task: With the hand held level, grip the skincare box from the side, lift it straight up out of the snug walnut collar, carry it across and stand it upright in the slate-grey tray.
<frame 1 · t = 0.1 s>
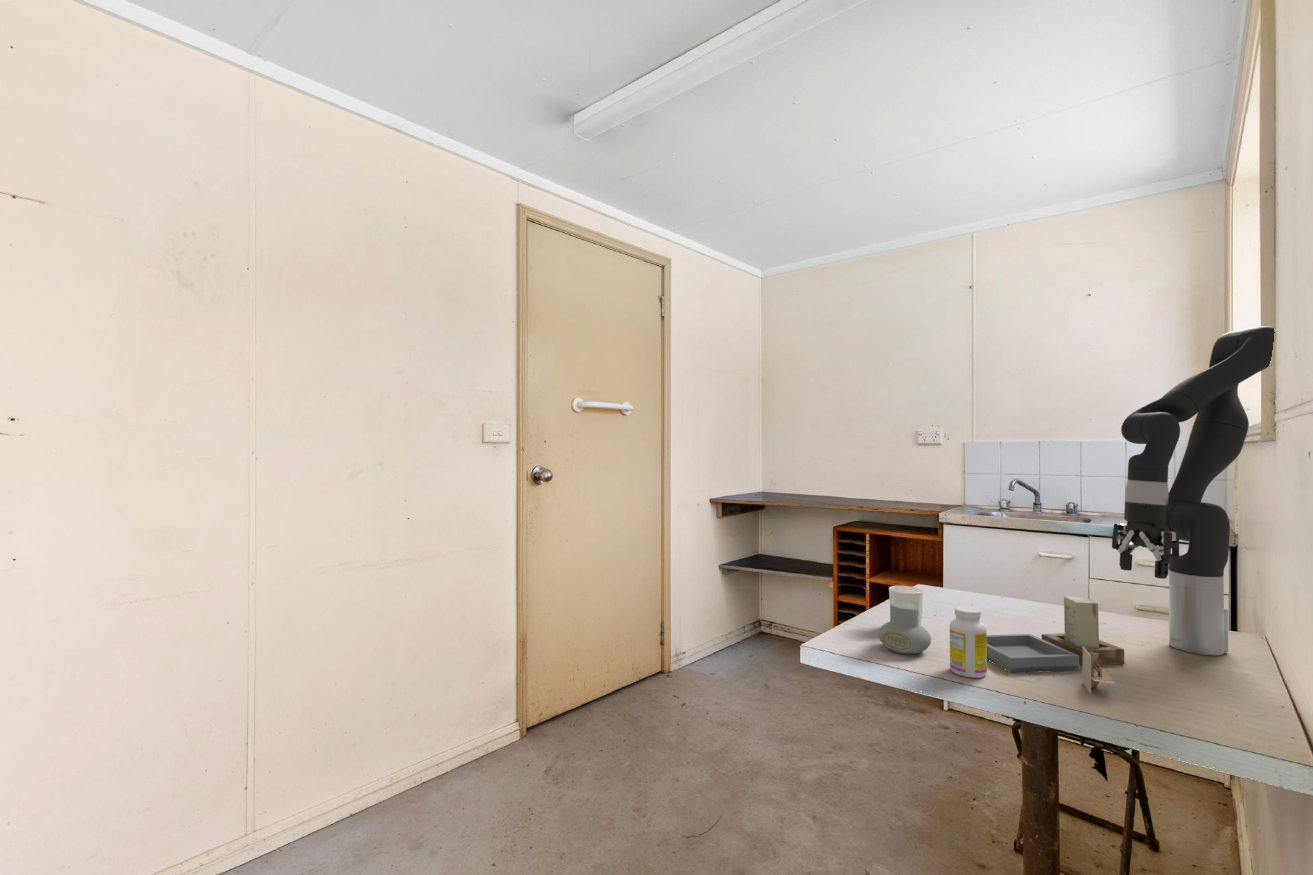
hand: (1142, 574, 134), 17 cm above the table, tool pointing down, fingers open, 8 cm apart
architectural model: (1092, 692, 113), on the table
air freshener: (904, 651, 134), on the table
slate tray: (1020, 659, 128), on the table
walnut collar: (1081, 655, 131), on the table
supplement bottle: (968, 673, 121), on the table
white cup: (905, 630, 149), on the table
skincare box: (1081, 656, 131), resting in walnut collar
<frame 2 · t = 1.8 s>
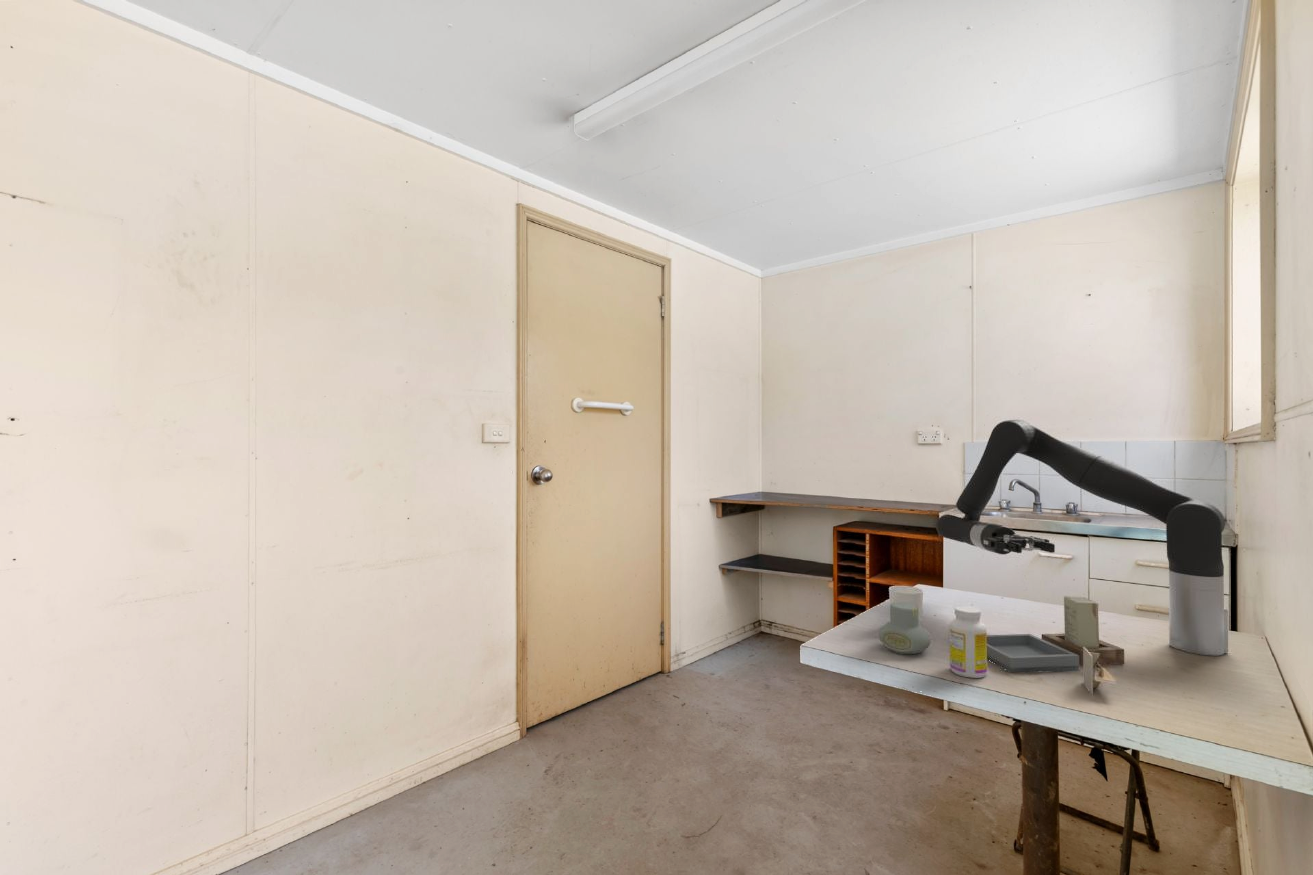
hand: (1037, 548, 144), 21 cm above the table, tool horizontal, fingers open, 8 cm apart
nothing on the table moved.
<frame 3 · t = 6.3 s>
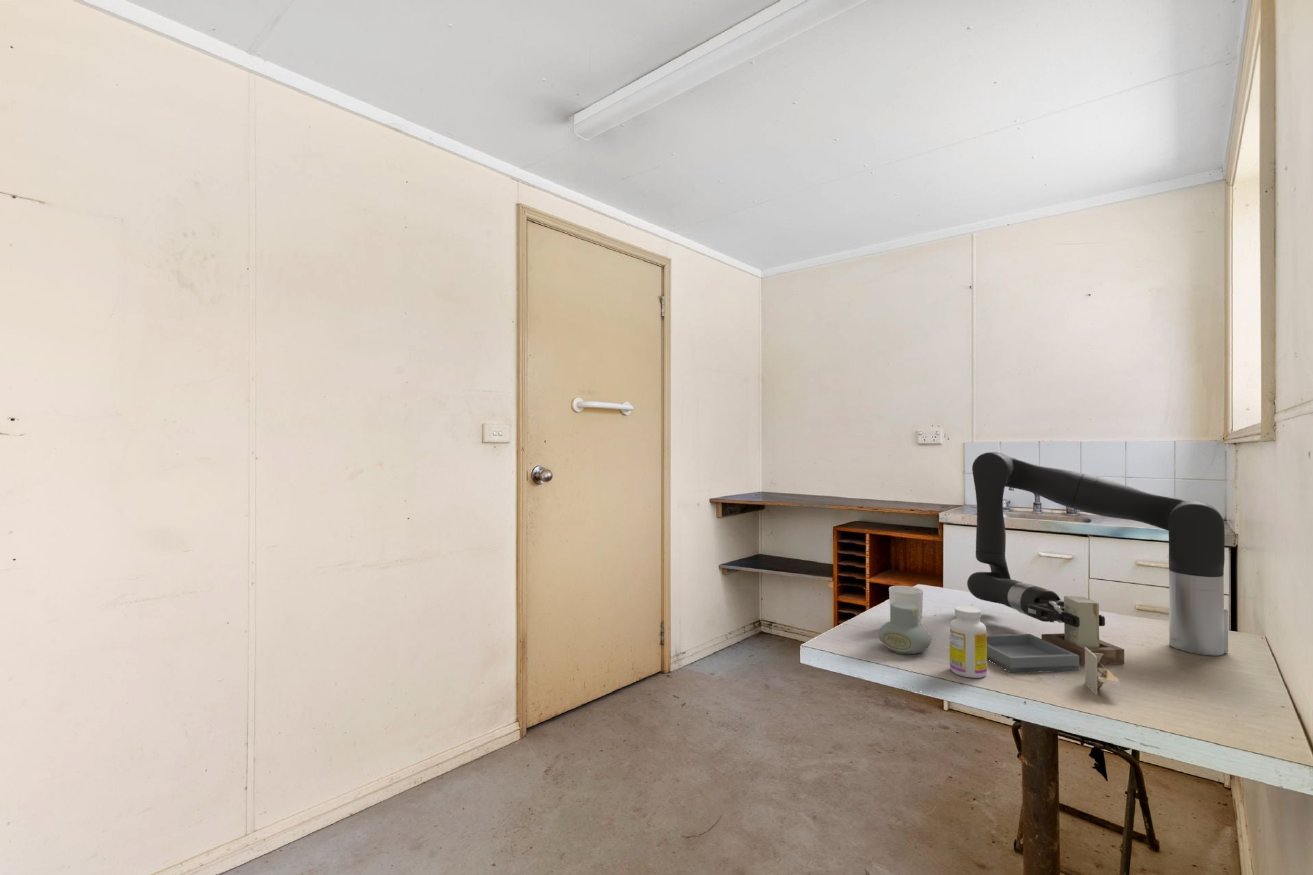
hand: (1090, 621, 128), 8 cm above the table, tool horizontal, fingers closed on skincare box, 5 cm apart
skincare box: (1081, 656, 131), resting in walnut collar, touching gripper
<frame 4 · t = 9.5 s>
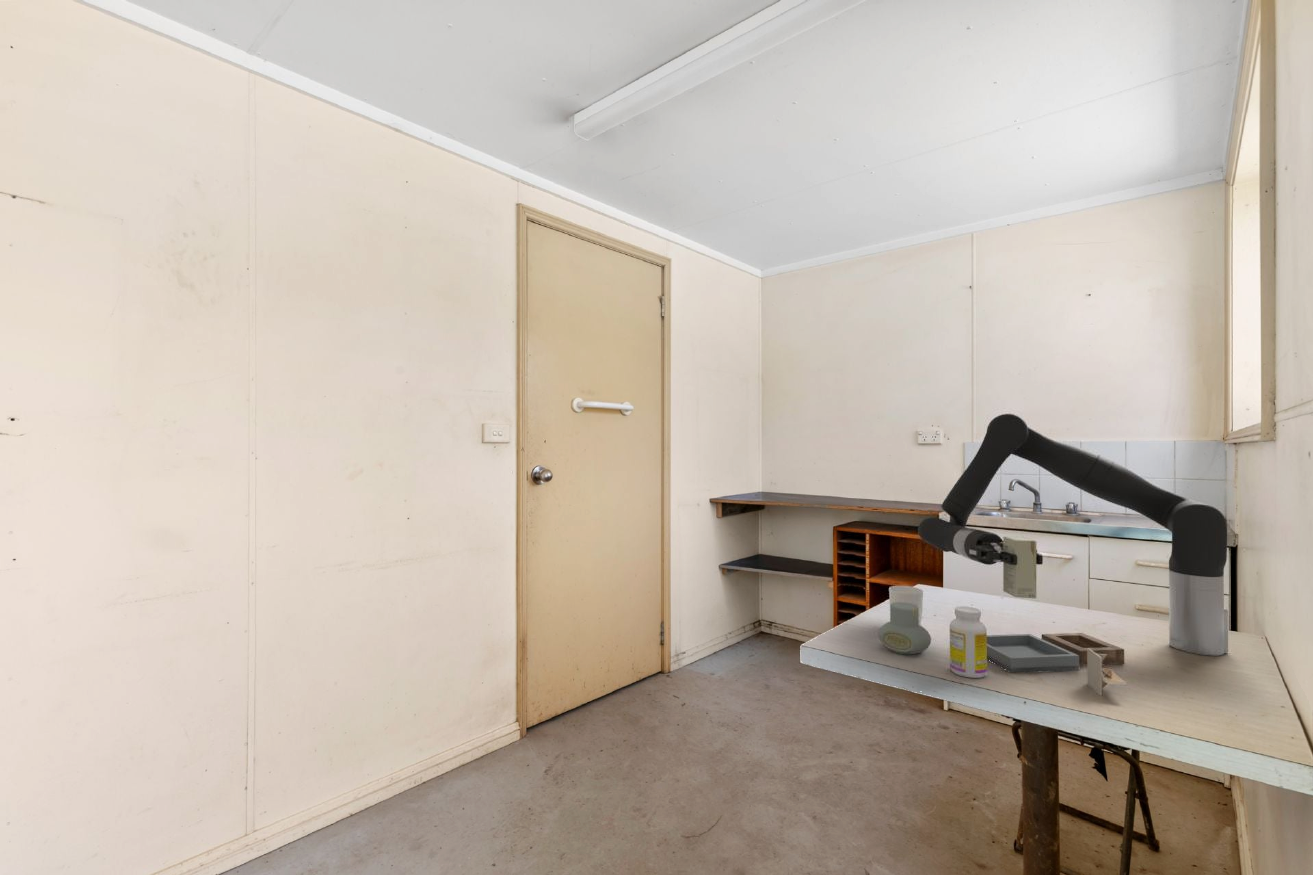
hand: (1028, 559, 126), 22 cm above the table, tool horizontal, fingers closed on skincare box, 5 cm apart
skincare box: (1019, 595, 129), point 13 cm above the table, touching gripper
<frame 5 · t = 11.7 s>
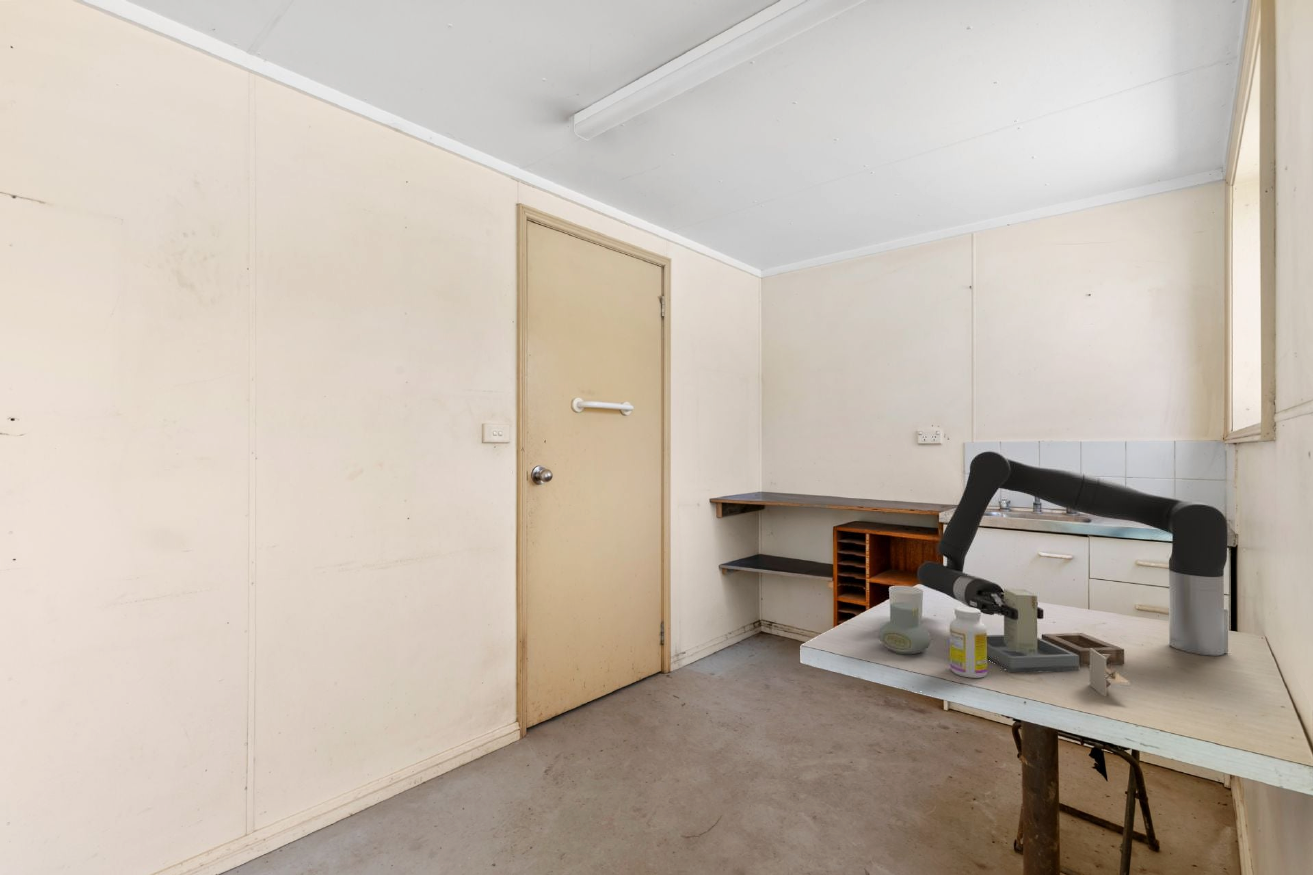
hand: (1029, 614, 126), 10 cm above the table, tool horizontal, fingers closed on skincare box, 5 cm apart
skincare box: (1019, 649, 129), point 2 cm above the table, touching gripper
when the fingers open (10 cm above the table, at t = 12.2 s): skincare box moves 1 cm, resting on slate tray.
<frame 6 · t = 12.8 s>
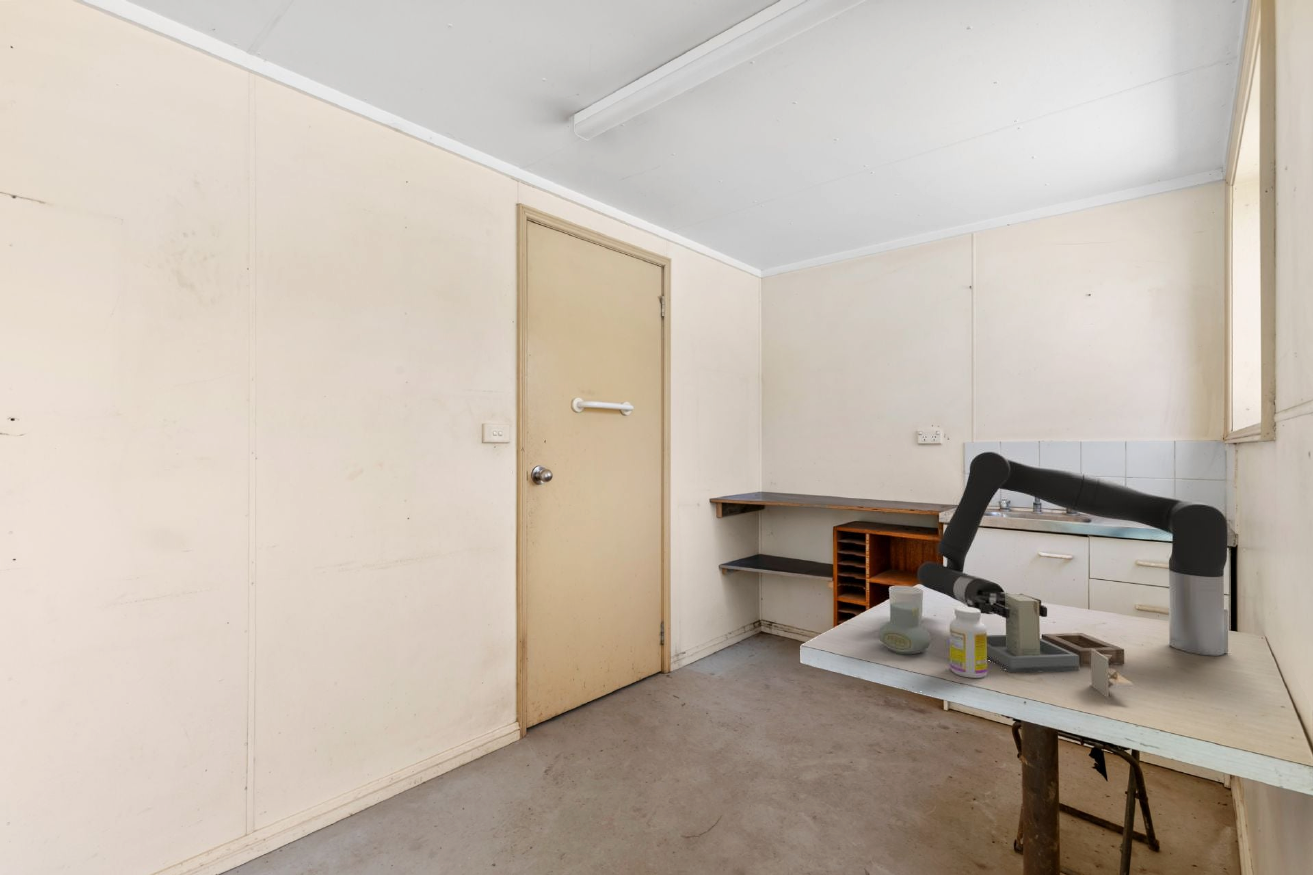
hand: (1027, 612, 127), 10 cm above the table, tool horizontal, fingers open, 8 cm apart
skincare box: (1022, 655, 129), point 1 cm above the table, touching slate tray
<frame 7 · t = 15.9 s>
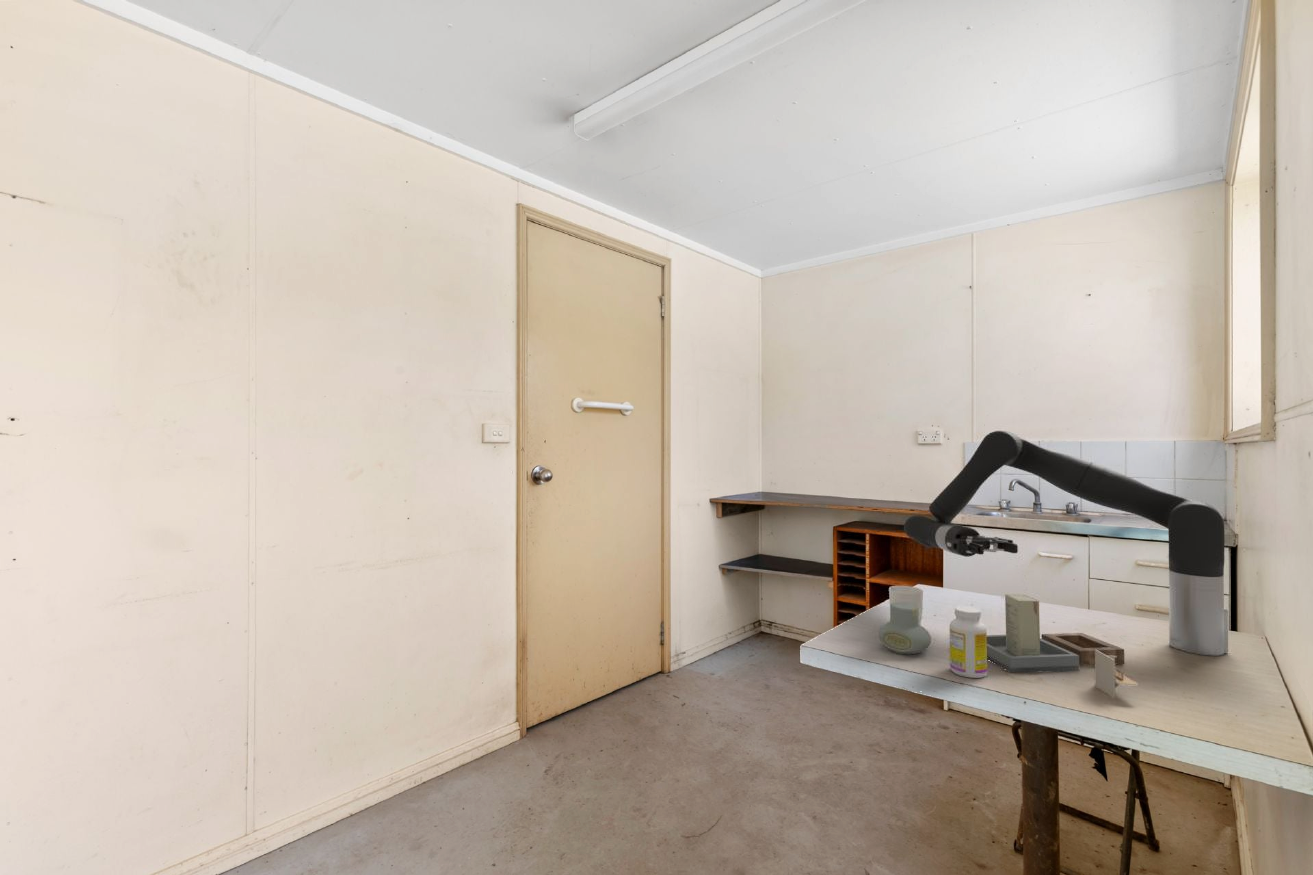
hand: (999, 549, 141), 21 cm above the table, tool horizontal, fingers open, 8 cm apart
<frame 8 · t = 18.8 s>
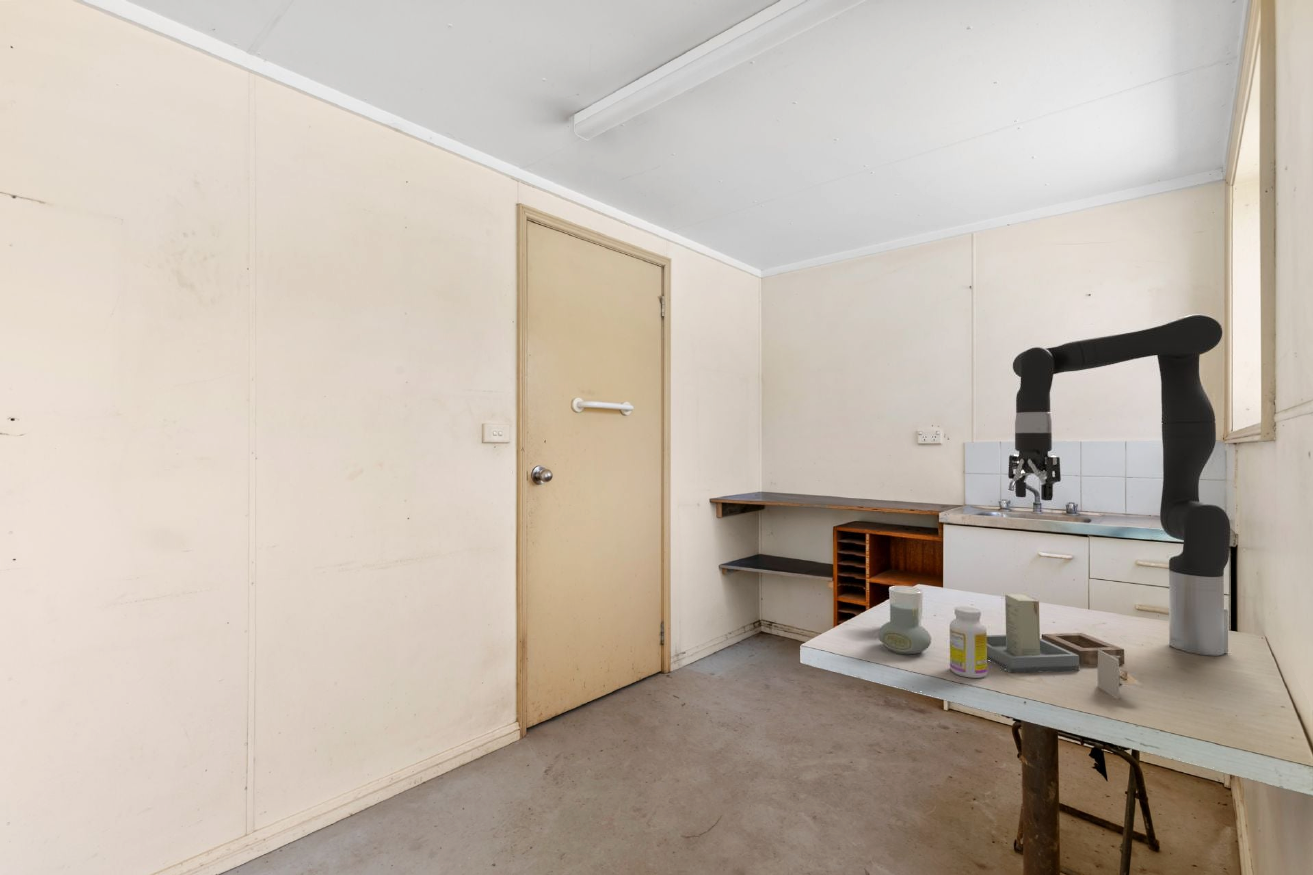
hand: (1033, 498, 144), 33 cm above the table, tool pointing down, fingers open, 8 cm apart
at the end: skincare box inside the target area on the slate tray (0.7 cm from its centre), point 0.8 cm above the slate tray's base; skincare box tilted 0°; the gripper is holding nothing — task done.
